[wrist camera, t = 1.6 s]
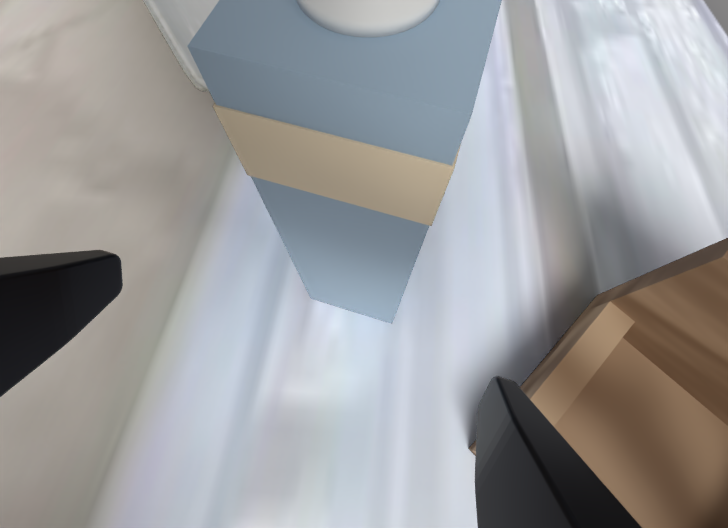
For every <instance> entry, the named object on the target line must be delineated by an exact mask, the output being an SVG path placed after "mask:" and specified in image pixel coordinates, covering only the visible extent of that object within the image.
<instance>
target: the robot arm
mask: <svg viewBox="0 0 728 528" xmlns="http://www.w3.org/2000/svg"><path fill="white" fill-rule="evenodd" d="M122 286H123V283H122V269H121V260H120V258H119V256H117V255H116V254H113V253H110V252H107V251H103V250H92V251H79V252H67V253H54V254H41V255H29V256H16V257H4V258H0V397H1V396H2V395H3V394H5V393H6V392H7V391H8V390H10V389H11V388H12V387H13V386H15V385H16V384H17V383H18V382H20V381H21V380H22V379H23V378H25V377H26V376H27V375H28V374H30V373H31V372H32V371H33V370H35V369H36V368H37V367H38V366H40V365H41V364H42V363H43V362H45V361H46V360H47V359H48V358H50V357H51V356H52V355H53V354H55V353H56V352H57V351H58V350H60V349H61V348H62V347H63V346H64V345H66V344H67V343H68V342H69V341H70V340H71V339H72V338H74V337H75V336H76V335H77V334H78V333H79V332H80V331H81V330H82V329H83V328H84V327H85V326H86V325H87V324H88V323H90V322H91V321H92V320H93V319H94V318H95V317H96V316H97V315H98V314H99V313H100V312H101V311H102V310H103V309H104V308H105V307H106V306H107V305H108V304H110V303H111V302H112V301H113V300H114V299H115V298H116V297H117V296H118V295H119V293H120V292H121V290H122ZM475 494H476V508H477V522H478V528H642V527H641V526H640V525H639V523H638V522H637V521H636V520H635V519H634V518H633V517H632V515H631V514H630V513H629V512H628V511H627V510H626V509H625V507H624V506H623V505H622V504H621V503H620V502H619V501H618V499H617V498H616V497H615V496H614V495H613V494H612V493H611V491H610V490H609V489H608V488H607V487H606V486H605V485H604V483H603V482H602V481H601V480H600V479H599V478H598V477H597V475H596V474H595V473H594V472H593V471H592V470H591V469H590V467H589V466H588V465H587V464H586V463H585V462H584V461H583V459H582V458H581V457H580V456H579V455H578V454H577V453H576V451H575V450H574V449H573V448H572V447H571V446H570V445H569V443H568V442H567V441H566V440H565V439H564V438H563V436H562V435H561V434H560V433H559V432H558V431H557V430H556V428H555V427H554V426H553V425H552V424H551V423H550V422H549V420H548V419H547V418H546V417H545V416H544V415H543V414H542V412H541V411H540V410H539V409H538V408H537V407H536V406H535V404H534V403H533V402H532V401H531V400H530V399H529V398H528V396H527V395H526V394H525V393H524V392H523V391H522V390H521V388H520V387H519V386H518V385H517V384H516V383H515V382H514V381H512V380H508V379H505V378H502V377H499V376H495V377H494V378H493V379H492V380H491V381H490V383H489V385H488V387H487V389H486V391H485V393H484V395H483V397H482V399H481V401H480V404H479V407H478V412H477V435H476V462H475Z"/></svg>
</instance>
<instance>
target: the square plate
mask: <svg viewBox="0 0 728 528" xmlns="http://www.w3.org/2000/svg"><path fill="white" fill-rule="evenodd" d="M143 2H144V3H145V5H146V7H147V8H148V10H149V12H150V14H151V15H152V17H153V19H154V21H155V22H156V24H157V26H158V28H159V29H160V31H161V33H162V35H163V37H164V38H165V40H166V42H167V44H168V45H169V47H170V49H171V50H172V52H173V54H174V56H175V57H176V59H177V61H178V62H179V64H180V66H181V67H182V69H183V70H184V72H185V74H186V75H187V77H188V78H189V79H190V81H191V82H192V83H193V85H194V86H195V87H196V88H197V89H198V90H200V91H209V90H208V87H207V85H206V83H205V81H204V79H203V77H202V75H201V73H200V71H199V69H198V67H197V65H196V63H195V61H194V59H193V57H192V55H191V53H190V51H189V49H188V47H187V46H188V44H189V43H190V41H191V40H192V39H193V37H194V36H195V34H196V33H197V31H198V30H199V29H200V27H201V26H202V24H203V23H204V21H205V20H206V19H207V17H208V16H209V14H210V13H211V11H212V10H213V9H214V7H215V6H216V4H217V3H218V2H219V0H143Z"/></svg>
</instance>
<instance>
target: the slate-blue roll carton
mask: <svg viewBox="0 0 728 528" xmlns="http://www.w3.org/2000/svg"><path fill="white" fill-rule="evenodd" d="M501 1H502V0H219V2H218V3H217V4H216V6H215V7H214V9H213V10H212V11H211V13H210V14H209V16H208V17H207V19H206V20H205V21H204V23H203V24H202V26H201V27H200V29H199V30H198V31H197V33H196V34H195V36H194V37H193V39H192V40H191V41H190V43H189V44H188V46H187V47H188V49H189V51H190V53H191V55H192V57H193V59H194V61H195V63H196V65H197V67H198V69H199V71H200V73H201V75H202V77H203V79H204V81H205V83H206V85H207V87H208V90H209V92H210V94H211V96H212V98H213V100H214V102H215V103H214V105H213V108H214V110H215V112H216V114H217V116H218V118H219V119H220V121H221V123H222V125H223V127H224V129H225V131H226V133H227V135H228V137H229V139H230V141H231V143H232V145H233V147H234V149H235V151H236V153H237V155H238V157H239V159H240V161H241V163H242V165H243V167H244V169H245V171H246V173H247V175H249V176H251V177H252V179H253V181H254V183H255V185H256V187H257V190H258V192H259V194H260V196H261V198H262V200H263V202H264V204H265V206H266V208H267V210H268V212H269V214H270V216H271V218H272V220H273V222H274V224H275V226H276V228H277V230H278V232H279V234H280V236H281V238H282V241H283V243H284V245H285V247H286V249H287V251H288V253H289V255H290V257H291V259H292V261H293V263H294V265H295V267H296V269H297V271H298V273H299V275H300V277H301V279H302V281H303V283H304V285H305V287H306V290H307V292H308V294H309V296H310V298H311V299H315V300H318V301H321V302H324V303H327V304H331V305H334V306H337V307H340V308H343V309H347V310H350V311H353V312H356V313H360V314H363V315H366V316H369V317H372V318H376V319H379V320H382V321H385V322H389V323H392V322H393V319H394V317H395V314H396V311H397V309H398V306H399V304H400V301H401V298H402V296H403V293H404V290H405V288H406V285H407V283H408V280H409V277H410V275H411V272H412V270H413V267H414V264H415V262H416V259H417V256H418V254H419V251H420V249H421V246H422V243H423V241H424V238H425V236H426V233H427V230H428V228H429V226H432V223H433V221H434V218H435V216H436V213H437V211H438V208H439V206H440V203H441V201H442V198H443V196H444V193H445V190H446V188H447V185H448V183H449V180H450V178H451V175H452V173H453V170H454V167H455V164H456V160H457V156H458V152H459V149H460V145H461V141H462V139H463V136H464V134H465V131H466V128H467V126H468V123H469V120H470V118H471V115H472V112H473V108H474V104H475V100H476V96H477V93H478V89H479V85H480V81H481V77H482V73H483V70H484V66H485V62H486V58H487V54H488V51H489V47H490V43H491V39H492V35H493V31H494V28H495V24H496V20H497V16H498V12H499V8H500V5H501Z"/></svg>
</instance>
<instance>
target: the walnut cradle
mask: <svg viewBox="0 0 728 528" xmlns="http://www.w3.org/2000/svg"><path fill="white" fill-rule="evenodd" d="M520 388H521V390H522V391H523V392H524V393H525V394H526V395H527V396H528V398H529V399H530V400H531V401H532V402H533V403H534V404H535V406H536V407H537V408H538V409H539V410H540V411H541V412H542V414H543V415H544V416H545V417H546V418H547V419H548V420H549V422H550V423H551V424H552V425H553V426H554V427H555V428H556V430H557V431H558V432H559V433H560V434H561V435H562V436H563V438H564V439H565V440H566V441H567V442H568V443H569V445H570V446H571V447H572V448H573V449H574V450H575V451H576V453H577V454H578V455H579V456H580V457H581V458H582V459H583V461H584V462H585V463H586V464H587V465H588V466H589V467H590V469H591V470H592V471H593V472H594V473H595V474H596V475H597V477H598V478H599V479H600V480H601V481H602V482H603V483H604V485H605V486H606V487H607V488H608V489H609V490H610V491H611V493H612V494H613V495H614V496H615V497H616V498H617V499H618V501H619V502H620V503H621V504H622V505H623V506H624V507H625V509H626V510H627V511H628V512H629V513H630V514H631V515H632V517H633V518H634V519H635V520H636V521H637V522H638V523H639V525H640V526H641V527H642V528H728V238H726V239H724V240H722V241H719V242H717V243H715V244H712V245H710V246H708V247H706V248H703V249H701V250H699V251H697V252H694V253H692V254H690V255H687V256H685V257H683V258H681V259H678V260H676V261H674V262H671V263H669V264H667V265H665V266H662V267H660V268H658V269H656V270H653V271H651V272H649V273H646V274H644V275H642V276H640V277H637V278H635V279H633V280H631V281H628V282H626V283H624V284H621V285H619V286H617V287H615V288H612V289H610V290H608V291H606V292H603V293H601V294H599V295H597V296H596V297H595V298H594V300H593V301H592V302H591V303H590V304H589V305H588V307H587V308H586V309H585V310H584V311H583V313H582V314H581V315H580V316H579V317H578V319H577V320H576V321H575V322H574V323H573V325H572V326H571V327H570V328H569V329H568V331H567V332H566V333H565V334H564V335H563V336H562V338H561V339H560V340H559V341H558V342H557V344H556V345H555V346H554V347H553V348H552V350H551V351H550V352H549V353H548V354H547V356H546V357H545V358H544V359H543V360H542V362H541V363H540V364H539V365H538V366H537V368H536V369H535V370H534V371H533V372H532V373H531V375H530V376H529V377H528V378H527V379H526V381H525V382H524V383H523V384H522V385H521V387H520ZM469 450H470V451H471V452H472V453H473V454H474V455H475V456H476V440H475V441H474V443H473V444H472V445H471V446H470V447H469Z"/></svg>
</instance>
